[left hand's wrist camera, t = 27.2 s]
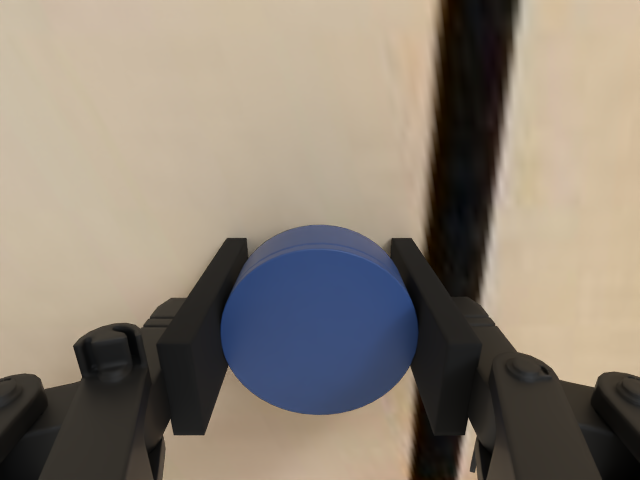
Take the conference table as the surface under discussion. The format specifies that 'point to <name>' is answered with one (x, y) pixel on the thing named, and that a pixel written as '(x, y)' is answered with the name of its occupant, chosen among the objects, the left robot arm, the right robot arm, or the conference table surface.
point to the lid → (319, 321)
